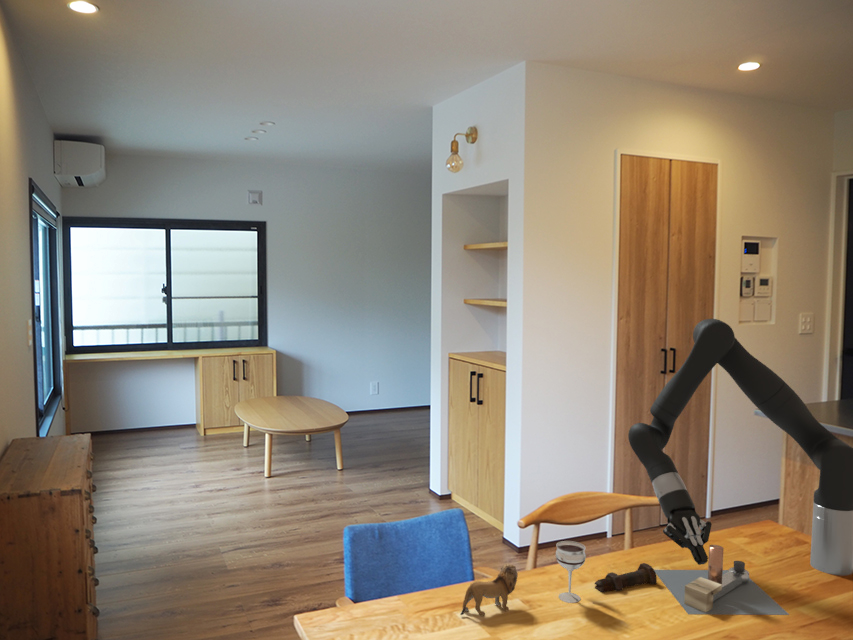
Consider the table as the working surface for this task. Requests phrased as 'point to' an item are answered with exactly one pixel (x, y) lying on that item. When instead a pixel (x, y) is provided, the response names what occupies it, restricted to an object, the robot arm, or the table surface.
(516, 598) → the table surface
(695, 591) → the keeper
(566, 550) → the wineglass
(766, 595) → the board
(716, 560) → the link
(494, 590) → the lion figurine
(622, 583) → the bolt
